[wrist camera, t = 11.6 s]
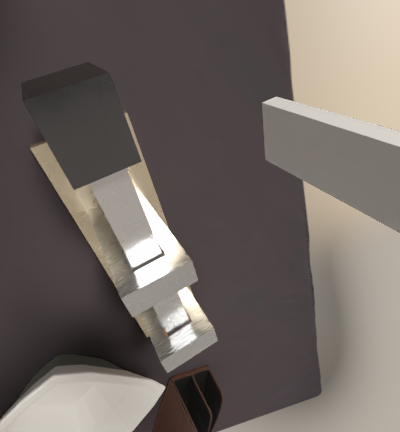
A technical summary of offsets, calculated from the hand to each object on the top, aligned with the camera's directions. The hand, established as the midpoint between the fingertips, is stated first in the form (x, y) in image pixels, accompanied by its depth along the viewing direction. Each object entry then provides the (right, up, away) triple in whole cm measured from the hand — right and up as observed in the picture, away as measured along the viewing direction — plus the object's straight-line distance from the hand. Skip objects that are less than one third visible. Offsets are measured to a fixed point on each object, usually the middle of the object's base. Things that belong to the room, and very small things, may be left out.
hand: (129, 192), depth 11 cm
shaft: (-5, -1, +20) cm, 20 cm away
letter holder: (-2, -44, +57) cm, 72 cm away
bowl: (-19, -27, +36) cm, 49 cm away
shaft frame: (-6, -5, +30) cm, 31 cm away
